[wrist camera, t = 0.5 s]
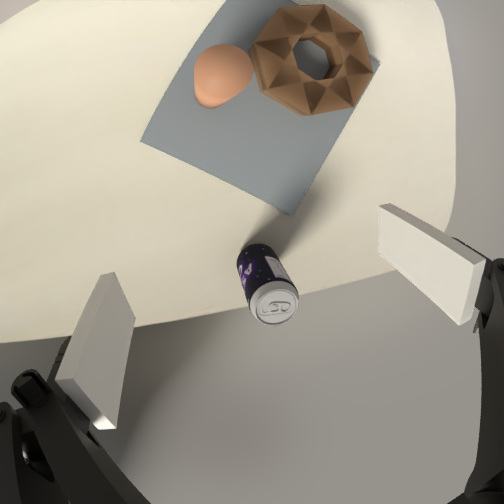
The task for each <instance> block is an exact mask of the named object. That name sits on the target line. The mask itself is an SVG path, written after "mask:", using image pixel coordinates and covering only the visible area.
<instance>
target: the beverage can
mask: <svg viewBox="0 0 504 504" xmlns="http://www.w3.org/2000/svg"><path fill="white" fill-rule="evenodd" d="M237 269H238V273H239V276H240V279H241V282H242V286H243V289H244V292H245V296H246V299H247V302H248V305H249V309H250V311H251V313H252V314H253V315H254V317H256V318H257V319H258V320H259V321H260V322H261V323H263V324H265V325H268V326H277V325H281V324H284V323H286V322H288V321H289V320H290V319H291V318H292V317H293V316H294V315H295V314H296V312H297V309H298V305H299V303H298V291H297V289H296V287H295V286H294V284H293V282H292V281H291V279H290V277H289V276H288V274H287V272H286V271H285V269H284V267H283V266H282V264H281V262H280V261H279V259H278V257H277V256H276V254H275V252H274V251H273V250H272V249H271V248H270V247H269V246H267V245H264V244H253V245H250V246H248V247H246V248H245V249H244V250H243V251H242V252H241V253H240V254H239V256H238V259H237Z"/></svg>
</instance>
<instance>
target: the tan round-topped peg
mask: <svg viewBox="0 0 504 504" xmlns="http://www.w3.org/2000/svg"><path fill="white" fill-rule="evenodd" d="M252 75H253V65H252V62H251V59H250V58H249V56H248V55H247V54H246V53H245V52H244V51H243V50H242V49H240V48H239V47H236V46H234V45H230V44H218V45H214V46H211V47H209V48H208V49H206V50H205V51H203V52H202V53H201V54H200V56H199V57H198V58H197V60H196V63H195V66H194V90H195V99H196V101H197V102H198V103H199V104H200V105H201V106H202V107H204V108H208V109H214V108H218V107H220V106H221V105H223V104H224V103H226V102H227V101H228V100H230V99H231V98H233V97H234V96H236V95H237V94H239V93H240V92H241V91H243V90H244V89H245V88H246V87H247V86H248V84H249V83H250V81H251V79H252Z"/></svg>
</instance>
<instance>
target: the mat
mask: <svg viewBox="0 0 504 504" xmlns="http://www.w3.org/2000/svg"><path fill="white" fill-rule="evenodd" d="M288 6H299V5H298V4H296V3H294V2H293V1H291V0H226V2H225V3H224V4H223V5H222V7H221V8H220V9H219V11H218V12H217V13H216V15H215V16H214V17H213V19H212V20H211V22H210V23H209V24H208V26H207V27H206V29H205V30H204V31H203V33H202V34H201V36H200V37H199V39H198V40H197V42H196V43H195V45H194V46H193V48H192V49H191V51H190V52H189V54H188V56H187V57H186V59H185V60H184V62H183V63H182V65H181V67H180V68H179V70H178V72H177V73H176V75H175V77H174V78H173V80H172V82H171V83H170V85H169V87H168V89H167V90H166V92H165V94H164V96H163V98H162V99H161V101H160V103H159V105H158V107H157V109H156V111H155V112H154V114H153V116H152V118H151V120H150V122H149V124H148V126H147V128H146V130H145V132H144V134H143V136H142V138H141V140H140V142H142V143H145V144H147V145H149V146H151V147H154V148H156V149H158V150H160V151H162V152H165V153H167V154H169V155H171V156H173V157H175V158H178V159H180V160H182V161H184V162H186V163H188V164H190V165H192V166H194V167H197V168H199V169H201V170H203V171H205V172H207V173H209V174H211V175H213V176H215V177H217V178H219V179H221V180H223V181H225V182H227V183H229V184H231V185H233V186H235V187H237V188H239V189H241V190H243V191H245V192H247V193H249V194H251V195H253V196H255V197H257V198H259V199H261V200H263V201H265V202H267V203H269V204H271V205H272V206H274V207H276V208H278V209H280V210H282V211H284V212H286V213H288V214H289V215H291V216H292V215H293V213H294V211H295V210H296V208H297V206H298V205H299V203H300V201H301V200H302V198H303V196H304V195H305V193H306V191H307V190H308V188H309V186H310V185H311V183H312V181H313V180H314V178H315V176H316V174H317V173H318V171H319V169H320V168H321V166H322V164H323V163H324V161H325V159H326V157H327V156H328V154H329V152H330V151H331V149H332V147H333V145H334V144H335V142H336V140H337V139H338V137H339V135H340V133H341V132H342V130H343V128H344V127H345V125H346V123H347V121H348V120H349V118H350V116H351V114H352V113H353V111H354V109H355V108H356V106H357V104H358V102H359V101H360V99H361V97H362V95H363V94H364V92H365V90H366V88H367V87H368V85H369V83H370V81H371V80H372V78H373V76H374V74H375V72H376V71H377V69H378V67H379V65H380V64H379V63H378V62H377V61H376V60H374V59H373V58H372V57H371V56H370V55H369V57H370V61H371V65H372V69H373V75H372V77H371V79H370V80H369V82H368V84H367V86H366V87H365V89H364V91H363V93H362V94H361V96H360V98H359V100H358V101H357V103H356V105H355V107H354V108H348V109H342V110H337V111H331V112H326V113H321V114H316V115H311V116H299V115H298V114H296V113H294V112H293V111H291V110H290V109H288V108H286V107H285V106H283V105H281V104H280V103H278V102H276V101H275V100H273V99H271V98H270V97H268V96H266V95H264V94H263V93H261V92H260V89H259V85H258V82H257V79H256V75H255V72H254V69H253V75H252V79H251V81H250V83H249V84H248V86H247V87H246V88H245V89H244V90H243V91H241V92H240V93H239V94H237V95H236V96H234V97H233V98H231V99H230V100H228V101H227V102H226V103H224V104H223V105H221V106H220V107H218V108H214V109H208V108H204V107H202V106H201V105H200V104H199V103H198V102H197V101H196V99H195V90H194V66H195V63H196V60H197V58H198V57H199V56H200V54H201V53H202V52H203V51H205V50H206V49H208V48H209V47H211V46H214V45H218V44H230V45H234V46H236V47H239V48H240V49H242V50H243V51H244V52H245V53H246V54H247V55H248V56H249V58H250V55H249V52H248V49H249V48H250V46H251V45H252V44H253V42H254V41H255V39H256V38H257V36H258V35H259V33H260V32H261V31H262V29H263V28H264V26H265V25H266V23H267V22H268V21H269V19H270V18H271V17H272V15H273V14H274V13H275V12H276V11H277V9H278V8H279V7H288ZM292 51H293V54H294V57H295V61H296V64H297V67H298V69H299V70H300V71H302V72H304V73H305V74H307V75H308V76H310V77H311V78H313V79H314V80H316V81H317V80H322V79H323V78H324V76H325V74H326V73H327V71H328V69H329V68H330V66H329V63H328V59H327V56H326V52H325V50H323V49H322V48H321V47H319V46H318V45H316V44H315V43H313V42H312V41H310V40H305V41H297V43H296V44H295V46H294V47H293V49H292Z"/></svg>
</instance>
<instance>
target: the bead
mask: <svg viewBox="0 0 504 504" xmlns="http://www.w3.org/2000/svg"><path fill="white" fill-rule="evenodd" d="M305 40H310V41H312V42H313V43H315V44H316V45H318V46H319V47H321V48H322V49H323V50H325V52H326V56H327V59H328V63H329V66H330V68H329V69H328V71H327V73H326V74H325V76H324V78H323V79H322V80H317V81H316V80H314V79H313V78H311V77H310V76H308V75H307V74H305V73H304V72H302V71H300V70H299V69H298V67H297V64H296V61H295V57H294V54H293V51H292V49H293V47H294V46H295V44H296V43H297V41H305ZM248 52H249V55H250V59H251V62H252V65H253V69H254V72H255V75H256V79H257V82H258V85H259V89H260V92H261V93H263V94H264V95H266V96H268V97H270V98H271V99H273V100H275V101H276V102H278V103H280V104H281V105H283V106H285V107H286V108H288V109H290V110H291V111H293V112H294V113H296V114H298V115H299V116H311V115H316V114H321V113H326V112H331V111H337V110H342V109H348V108H354V107H355V105H356V103H357V101H358V100H359V98H360V96H361V94H362V93H363V91H364V89H365V87H366V86H367V84H368V82H369V80H370V79H371V77H372V75H373V69H372V65H371V61H370V57H369V54H368V50H367V47H366V43H365V40H364V36H363V33H362V31H361V30H359V29H358V28H357V27H355V26H354V25H353V24H351V23H350V22H349V21H347V20H346V19H345V18H343V17H342V16H340V15H339V14H338V13H336V12H335V11H333V10H332V9H330V8H329V7H328V6H326V5H325V4H320V5H301V6H288V7H279V8H278V9H277V11H276V12H275V13H274V14H273V15H272V17H271V18H270V19H269V21H268V22H267V23H266V25H265V26H264V28H263V29H262V31H261V32H260V33H259V35H258V36H257V38H256V39H255V41H254V42H253V44H252V45H251V46H250V48H249V49H248Z"/></svg>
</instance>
